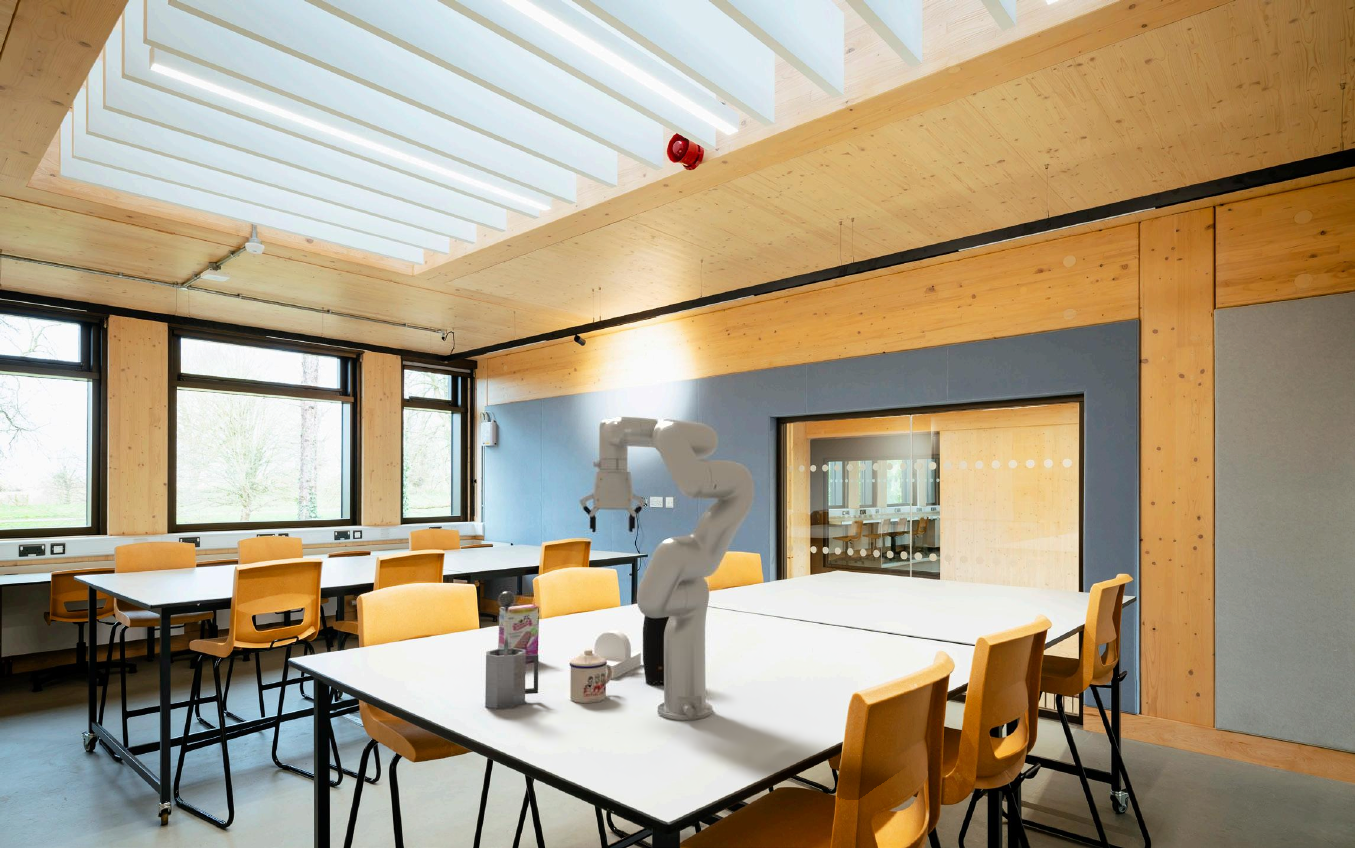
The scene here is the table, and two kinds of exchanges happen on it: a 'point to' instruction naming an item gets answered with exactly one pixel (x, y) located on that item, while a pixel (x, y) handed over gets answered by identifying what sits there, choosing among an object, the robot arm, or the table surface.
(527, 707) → the table surface
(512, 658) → the grey faceted mug
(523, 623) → the candy bar box
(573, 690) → the teacup with lid
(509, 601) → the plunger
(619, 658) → the white arched block
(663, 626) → the portable speaker
